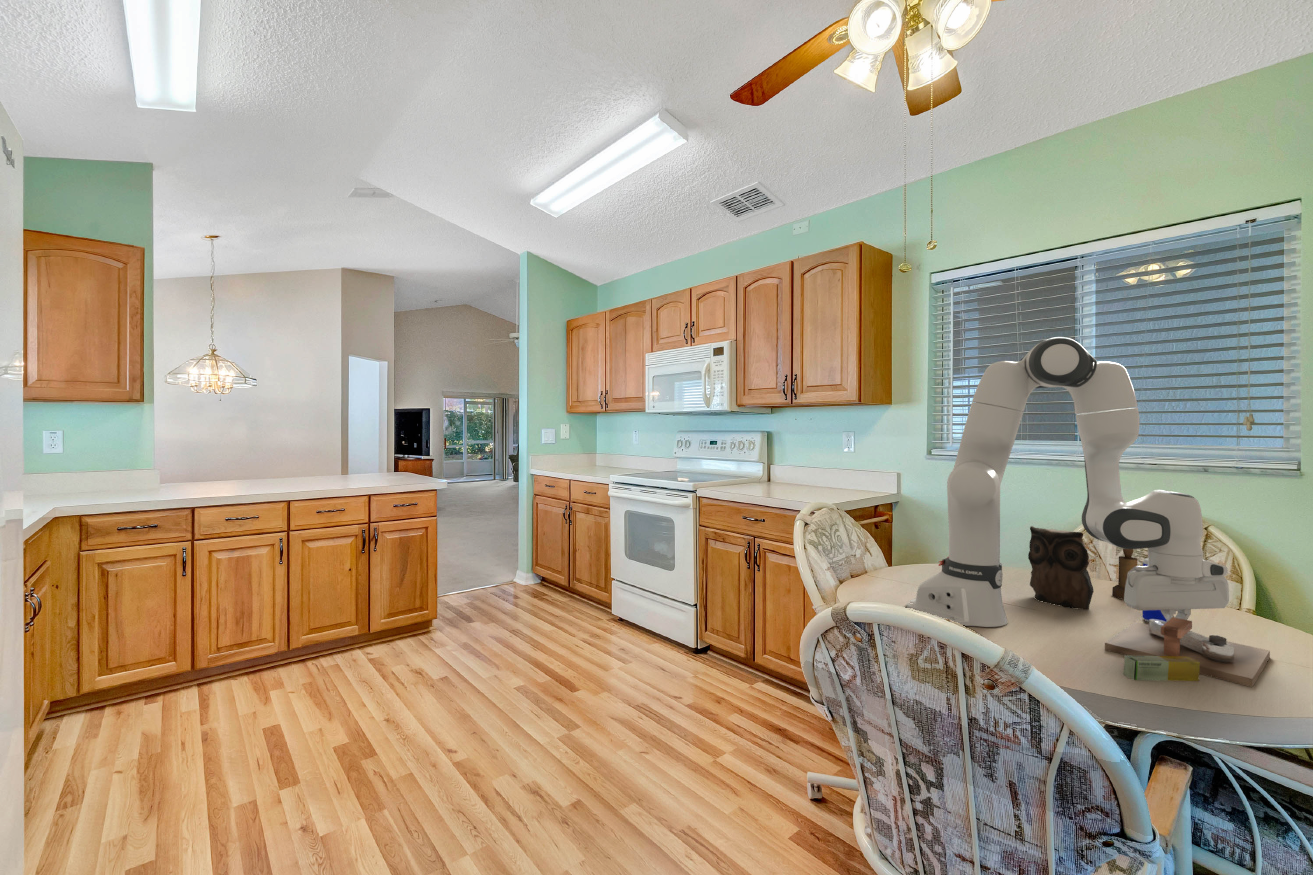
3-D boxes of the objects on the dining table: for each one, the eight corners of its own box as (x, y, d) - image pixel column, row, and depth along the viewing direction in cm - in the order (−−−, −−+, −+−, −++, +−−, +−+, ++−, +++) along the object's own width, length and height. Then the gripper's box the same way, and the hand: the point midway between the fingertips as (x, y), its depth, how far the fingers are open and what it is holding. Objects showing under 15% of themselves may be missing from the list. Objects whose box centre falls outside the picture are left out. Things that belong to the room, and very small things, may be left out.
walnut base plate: (1104, 649, 118) (1105, 617, 118) (1134, 627, 131) (1134, 599, 131) (1252, 687, 101) (1252, 649, 101) (1269, 657, 114) (1270, 624, 114)
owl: (1095, 611, 143) (1096, 533, 142) (1037, 606, 147) (1038, 530, 147) (1077, 597, 155) (1077, 525, 154) (1024, 593, 159) (1024, 523, 159)
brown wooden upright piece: (1149, 601, 151) (1150, 535, 151) (1125, 601, 151) (1126, 535, 151) (1129, 594, 158) (1129, 530, 157) (1106, 594, 158) (1106, 530, 158)
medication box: (1133, 681, 104) (1134, 660, 104) (1122, 674, 107) (1122, 654, 106) (1200, 682, 103) (1201, 661, 103) (1187, 675, 106) (1187, 654, 106)
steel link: (1240, 661, 107) (1240, 648, 107) (1217, 661, 107) (1217, 648, 107) (1161, 630, 124) (1162, 618, 124) (1142, 630, 124) (1142, 618, 124)
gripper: (1140, 569, 118) (1141, 635, 118) (1235, 567, 118) (1236, 632, 118) (1115, 562, 124) (1116, 624, 124) (1205, 560, 124) (1206, 622, 125)
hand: (1175, 628), depth 121 cm, fingers closed
